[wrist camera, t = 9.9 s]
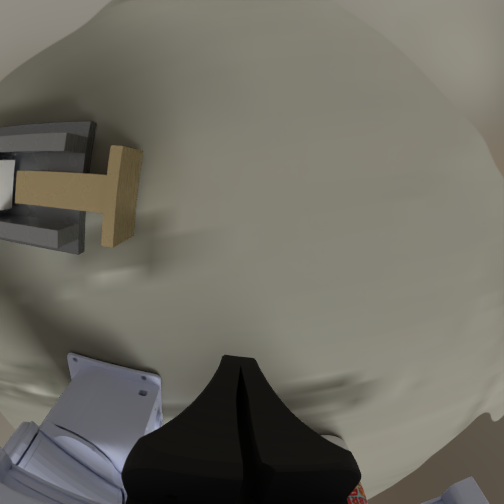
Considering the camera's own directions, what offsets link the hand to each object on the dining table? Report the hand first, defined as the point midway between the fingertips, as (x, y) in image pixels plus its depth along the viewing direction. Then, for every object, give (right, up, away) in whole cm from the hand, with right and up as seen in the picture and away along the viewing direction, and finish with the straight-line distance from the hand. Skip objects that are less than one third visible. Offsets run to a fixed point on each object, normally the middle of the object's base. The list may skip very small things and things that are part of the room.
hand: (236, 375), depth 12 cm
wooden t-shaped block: (-12, +10, +8) cm, 18 cm away
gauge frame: (-17, +11, +7) cm, 22 cm away
